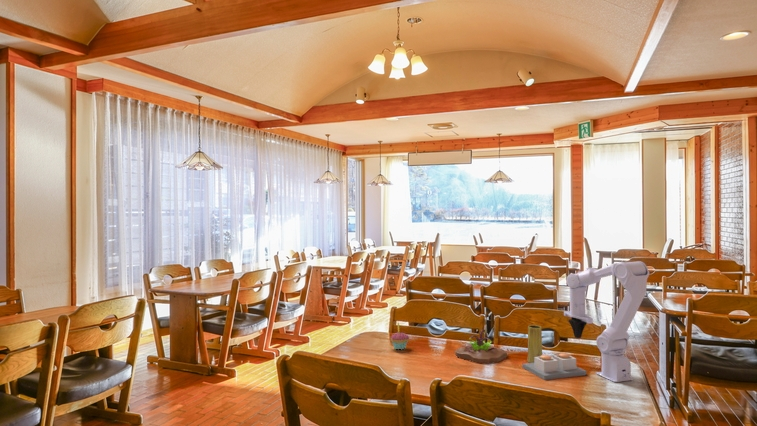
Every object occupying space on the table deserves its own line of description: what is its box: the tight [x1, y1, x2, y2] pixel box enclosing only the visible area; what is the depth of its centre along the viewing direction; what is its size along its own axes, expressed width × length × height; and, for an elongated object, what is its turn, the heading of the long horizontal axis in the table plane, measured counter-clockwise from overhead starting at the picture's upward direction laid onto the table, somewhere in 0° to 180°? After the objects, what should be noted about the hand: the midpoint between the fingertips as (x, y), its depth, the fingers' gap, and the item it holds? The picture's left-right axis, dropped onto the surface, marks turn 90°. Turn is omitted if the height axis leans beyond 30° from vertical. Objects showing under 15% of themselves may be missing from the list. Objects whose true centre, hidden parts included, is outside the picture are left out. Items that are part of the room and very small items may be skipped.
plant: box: [454, 329, 508, 365], centre depth 195 cm, size 20×20×11 cm
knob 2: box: [558, 352, 571, 359], centre depth 175 cm, size 4×4×5 cm
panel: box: [521, 354, 587, 381], centre depth 175 cm, size 14×18×5 cm
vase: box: [526, 324, 543, 363], centre depth 186 cm, size 6×6×14 cm
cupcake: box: [390, 322, 410, 350], centre depth 206 cm, size 9×8×12 cm
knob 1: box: [541, 354, 552, 361], centre depth 173 cm, size 4×4×5 cm
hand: (577, 337), depth 184 cm, fingers closed
